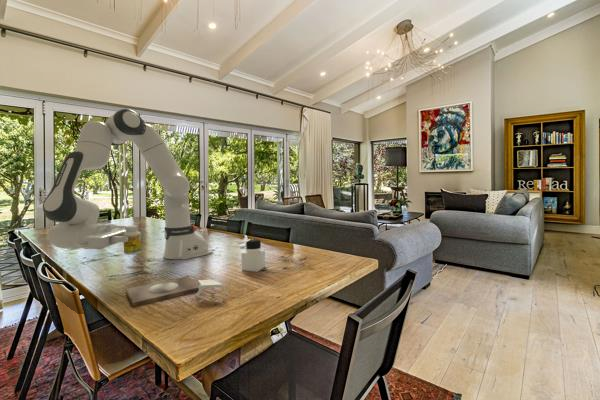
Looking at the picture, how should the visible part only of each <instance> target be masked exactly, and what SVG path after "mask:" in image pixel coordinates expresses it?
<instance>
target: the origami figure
mask: <svg viewBox="0 0 600 400" xmlns="http://www.w3.org/2000/svg"><path fill="white" fill-rule="evenodd" d="M197 284H198V289H199V291H197V292H195V295H194V296H195V297H197V298H200V299H201V300H199V301H198V303H202V302H203V301H204V300H206V298H205V297H204V296H202V292H203V290H205V288H206V289H207V288H211V295H212V296H213V295H214V291H215V288H219V287H222V290H223V292H224V295H222V296H221V299H220V302H223V300H224V298H225V297H226V296H227V295H228V292H227V289H226V287H225V286H224V285H223V284H222V283H221V282H219V281H217V280H213V279H197Z"/></svg>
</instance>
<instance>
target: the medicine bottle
mask: <svg viewBox="0 0 600 400" xmlns="http://www.w3.org/2000/svg"><path fill="white" fill-rule="evenodd" d="M244 242H245V243H244V244H245V250H244V251H243V252H241V271H247V272H254V273H257V272H260V271H261V270H262V269H264V268H265V267H266V251H265V250H264V249H261V247H262V246H261V243H262V242H261V240H260V239H257V238H249V239H247V240H245V241H244Z"/></svg>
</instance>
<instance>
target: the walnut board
mask: <svg viewBox="0 0 600 400" xmlns="http://www.w3.org/2000/svg"><path fill="white" fill-rule="evenodd" d="M125 291H126V295H127V297H128V298H129V300H130V303H131V304H132V307H138V306H142V305H145V304H146V305H147V304H150V303H154V302H158V301H164V300H167V299H171V298H175V297H179V296H184V295H188V294H192V293H197V292H198V291H199V289H198V282H196V281H195V280H193V279H192V278H191V277H190V276H188V275H187V276H180V277H178V278H177V277H176V278H171V279H167V280H162V281H158V282H153V283H147V284H143V285H139V286H133V287H129V288H126V289H125Z"/></svg>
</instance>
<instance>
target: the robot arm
mask: <svg viewBox="0 0 600 400" xmlns="http://www.w3.org/2000/svg"><path fill="white" fill-rule="evenodd" d="M128 141H131V142H132V143H133V144H135V146H137V148H138V151H140V153H141V155H142V157H143V158H144V160H145V161H146V163H147V165H148V166H149V169H151V171H152V173H153V175H154V177H155V178H156V179H157V181H158V183H159V184H160V185H161V187H162V191H163V207H164V224H165V227H164V231H163V232H164V240H165V245H164V251H163V258H164V259H167V260H168V259H169V260H188V259H192V258H196V257H202V256H206V255H210V254H213V253H214V251H213V248H211V247H209V246H208V242H207V240H206V239H205V238H204V237H203V236H201V235H200V234H197V233H196V231H198V229H199V228H198V227H197V226H194V225H192V224H191V213H190V212H191V210H190V202H189V191H190V188H191V187H190V181H189V179H188V178H187V176H186V174H185V173H184V172H183V170H182V168H181V167H180V165H179V163H178V162H177V160H176V159H175V157H174V155H173V154H172V153H171V151H170V149H169V147H168V146H167V144H166V143H165V141H164V139H163V138H162V136H161V134H159V132H158V131H157V129H155V128H154V126H153V125H151V124H149V123H146V122H145V120H144V119H143V118H142V117H141V116H140V115H139V114H138V112H136V111H135V110H132V109H130V108H122V109H120V110H118V111H116V112H115V113H114V114H112V115H110V116H109V117H108V119H107V120H106V121H105V122H102V121H98V120H89V121H87V122H85V123H84V124H83V126H82V128H81V129H80V132H79V135H78V137H77V141H76V145H75V149H74V150H73V151H71V152H69V153H68V154H67V155H66V156H65V158H64V159H63V162H62V164H61V166H60V168H59V171H58V173H57V175H56V178H55V181H54V183H53V185H52V188H51V189H50V192H49V193H48V195H46V197H45V199H44V200H43V202H42V203H43V204H42V211H43V214H44V216H45V218H47V220H49V221H53V222H57V224H55V225H54V226H52V227H51V228H50V229H49V231H48V233H47V236H48V241H49V243H50V244H51V245H52V246H54V247H56V248H60V249H63V250H64V249H66V250H79V249H85V250H103V249H105V248H106V247H110V246H113V245H116V244H119V243H123V242H128V241H130V239H129V238H130V237H129V236H123V234H124V233H125V232H126V231H125V226H126V225H118V224H116V223H114V224H113V223H112V224H103V223H102V224H100V223H99V224H98V222H99V219H100V216H101V215H100V214H101V213H100V208H99V206H98V205H97V204H96V203H94V202H91V201H90V200H87V199H84V198H81V197H80V196H77V195H76V194H75V189H76V186H77V183H78V180H79V178H80V175H81V173H82V172H83V171H96V170H97V171H98V170H100V169H102V168H104V167H105V166H106V165H107V164H108V162H109V161H110V154H111V147H112V146H114V147H115V146H121V145H123V144H126V143H127V142H128ZM138 230H139V229H138ZM138 230H137V231H138ZM139 232H140V236H141V237H142V232H141V231H139Z"/></svg>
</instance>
